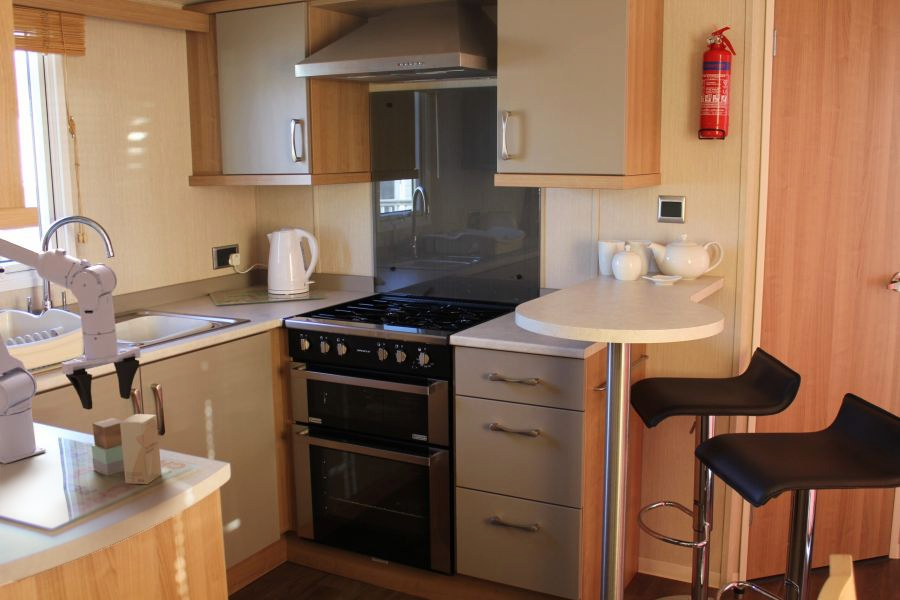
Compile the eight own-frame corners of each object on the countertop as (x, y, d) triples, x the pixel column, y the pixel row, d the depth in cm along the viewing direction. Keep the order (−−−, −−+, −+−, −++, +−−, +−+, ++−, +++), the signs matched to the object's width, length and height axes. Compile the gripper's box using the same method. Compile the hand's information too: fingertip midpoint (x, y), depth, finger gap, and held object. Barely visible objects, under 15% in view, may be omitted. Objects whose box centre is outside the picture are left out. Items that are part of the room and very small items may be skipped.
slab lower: (93, 471, 161) (92, 458, 161) (119, 463, 165) (117, 450, 164) (108, 477, 158) (106, 464, 158) (133, 469, 162) (132, 456, 161)
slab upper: (92, 458, 161) (91, 445, 160) (118, 450, 164) (117, 437, 164) (106, 464, 157) (105, 450, 157) (132, 456, 161) (131, 443, 161)
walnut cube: (94, 444, 160) (92, 423, 160) (115, 438, 163) (112, 417, 163) (106, 449, 158) (104, 427, 157) (127, 442, 161) (124, 421, 160)
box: (147, 485, 153) (141, 423, 151) (124, 483, 154) (118, 422, 152) (162, 473, 158) (157, 413, 156) (140, 472, 159) (134, 412, 157)
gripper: (73, 342, 155) (81, 417, 158) (146, 326, 166) (153, 396, 169) (52, 337, 159) (61, 410, 162) (125, 322, 171) (132, 391, 173)
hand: (106, 403), depth 166 cm, fingers open, 7 cm apart
